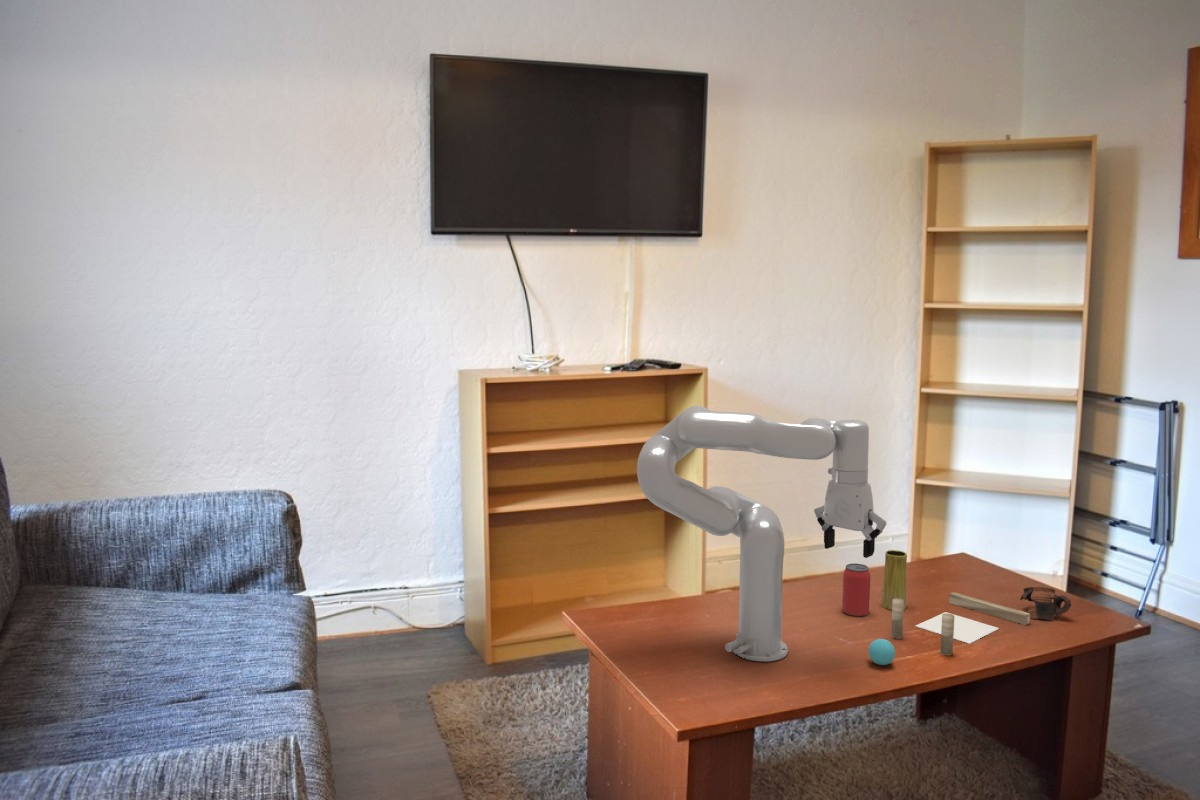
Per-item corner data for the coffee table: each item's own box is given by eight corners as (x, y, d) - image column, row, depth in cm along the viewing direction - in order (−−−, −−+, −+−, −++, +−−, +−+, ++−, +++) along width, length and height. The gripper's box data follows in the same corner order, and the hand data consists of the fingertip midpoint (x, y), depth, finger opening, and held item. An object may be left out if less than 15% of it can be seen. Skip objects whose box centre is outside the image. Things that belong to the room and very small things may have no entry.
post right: (948, 657, 206) (950, 618, 205) (938, 653, 208) (939, 615, 207) (954, 653, 208) (956, 615, 207) (944, 650, 210) (946, 612, 209)
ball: (885, 671, 199) (886, 647, 198) (862, 663, 203) (863, 639, 202) (899, 664, 202) (900, 640, 202) (877, 656, 207) (878, 632, 206)
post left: (898, 639, 216) (900, 603, 215) (888, 636, 218) (890, 600, 217) (904, 637, 217) (906, 600, 216) (894, 633, 219) (896, 597, 218)
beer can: (872, 617, 230) (873, 571, 228) (845, 617, 230) (847, 570, 228) (865, 607, 237) (866, 562, 235) (839, 607, 237) (840, 562, 235)
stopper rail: (1025, 625, 224) (1025, 615, 224) (949, 603, 239) (949, 593, 239) (1029, 623, 225) (1029, 613, 225) (953, 601, 241) (953, 592, 240)
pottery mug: (1015, 618, 230) (1014, 585, 233) (1029, 625, 236) (1027, 593, 239) (1067, 618, 222) (1064, 584, 225) (1079, 625, 228) (1077, 592, 231)
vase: (890, 611, 234) (892, 557, 232) (876, 603, 239) (878, 550, 237) (911, 609, 235) (913, 555, 233) (897, 601, 241) (899, 548, 239)
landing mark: (969, 644, 213) (969, 643, 213) (915, 626, 224) (915, 625, 224) (999, 629, 222) (999, 628, 222) (945, 612, 233) (945, 611, 233)
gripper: (806, 473, 205) (805, 547, 208) (877, 485, 193) (875, 564, 196) (825, 468, 211) (824, 540, 213) (894, 479, 198) (892, 556, 201)
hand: (848, 551), depth 204 cm, fingers open, 9 cm apart
